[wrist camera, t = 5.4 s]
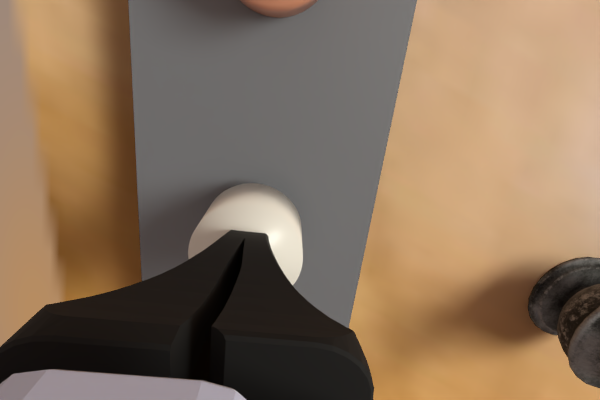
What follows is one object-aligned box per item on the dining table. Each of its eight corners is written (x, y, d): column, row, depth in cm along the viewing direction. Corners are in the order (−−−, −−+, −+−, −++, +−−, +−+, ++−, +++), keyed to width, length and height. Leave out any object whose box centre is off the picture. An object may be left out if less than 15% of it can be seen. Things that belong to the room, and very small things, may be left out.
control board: (336, 322, 20) (342, 355, 17) (162, 307, 19) (144, 339, 17) (446, -246, 12) (485, -327, 9) (148, -301, 11) (109, -403, 9)
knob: (295, 248, 17) (295, 309, 13) (215, 240, 17) (187, 300, 12) (305, 172, 16) (309, 211, 11) (218, 162, 16) (188, 199, 11)
